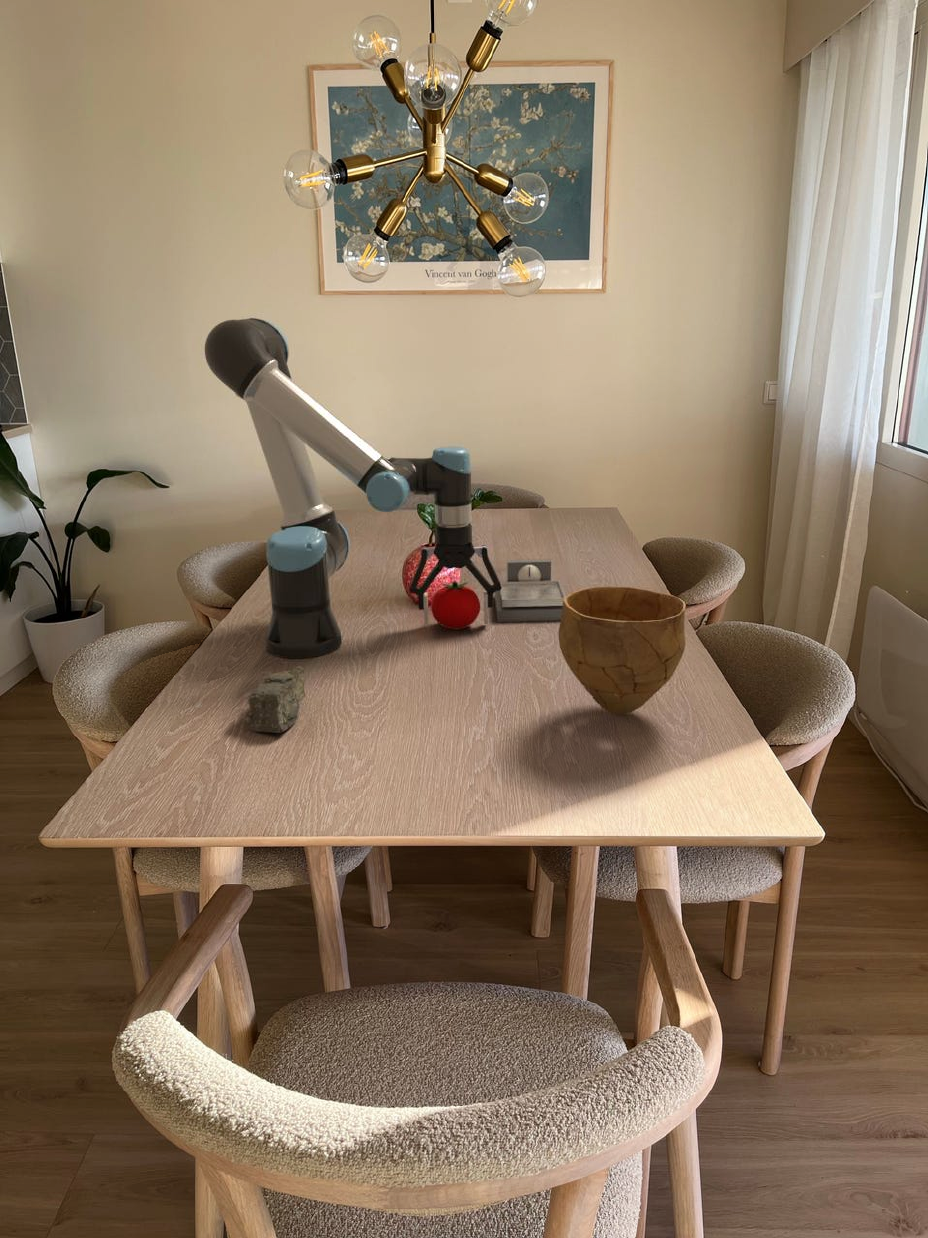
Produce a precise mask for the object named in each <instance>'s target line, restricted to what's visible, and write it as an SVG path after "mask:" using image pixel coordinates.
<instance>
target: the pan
mask: <svg viewBox="0 0 928 1238" xmlns="http://www.w3.org/2000/svg"><path fill="white" fill-rule="evenodd" d="M500 583H501V587H502V589H501V590H500V597H501V603H502V607H526V606H563V598H565V596H566V595H567V593H566V591H565V592H564V590H565V588H564V586H563V587H562V585H563V584H562V581H561V580H560V579H556V580H555V579H554V580H553V579H551V580H547V581H507V580H506V581H500ZM563 588H564V589H563ZM565 593H566V594H565Z"/></svg>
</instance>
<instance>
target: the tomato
mask: <svg viewBox="0 0 928 1238" xmlns="http://www.w3.org/2000/svg"><path fill="white" fill-rule="evenodd" d="M468 583H469V581H467V582H464V583H461V584H458V582H457V581H456V580H455V579H454V580H452V582H451V584H446V583H441V582H440V585H442V586H444V587H441V588H439V589H438V590H437V591H436V592H435V594H434V595H433V596H432V600H431V603H430V604H431V605H430V608H431V613H432V616H433V618H434V620H435V621H436V622H437V623H439V624H440V625H442V627H444V628H448V629H452V630H459V629H464V628H467V627H469V626H470V625H472V624H473V623H474V622H475V621H476V620H477V618H478V616H479V615H480V611H481V601H480V599H479V596H478V595H477V593H476V591H475V590H473V588H469V587H467V586H465V585H467V584H468Z"/></svg>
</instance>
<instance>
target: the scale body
mask: <svg viewBox="0 0 928 1238" xmlns="http://www.w3.org/2000/svg"><path fill="white" fill-rule="evenodd" d="M547 580H552V561H551V558H533V559H531V558H529V559H527V558H526V559H506V581H547ZM562 587H563V589H564V592H565V594H566V595H567V592H566V591H565V588H564V585H563V584H562ZM493 600H494V605H495V612H496V618H497V622H498V623H499V622H500V623H501V622H503V623H505V622H538V621H539V622H542V621H544V622H545V621H561V618H562V609H563V606H526V607H502V603H501V597H500V591H496V592H494V593H493Z"/></svg>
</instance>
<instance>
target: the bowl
mask: <svg viewBox="0 0 928 1238" xmlns="http://www.w3.org/2000/svg"><path fill="white" fill-rule="evenodd" d="M686 607H687V605H686V602H685V601H684V600H683V599H681V598H679V597H678V596H675V595H672V594H668V593H663V592H657V591H653V590H648V589H644V588H636V587H631V586H593V587H587V588H581V589H577V590H575V591H573V592H570V593H568V594H567V593H566V596H565V598H563V609H562V618H561V620H560V623H559V627H558V634H557V635H558V643H559V644H558V645H559V649H560V650H561V651H560V652H561V653H562V657H563V659H564V660H565V662H566V664H567V666H568V667H569V669H570V671H571V673H572V674H573V675H574V676H575V678H576V679H577V680H578V681H579V682H580V684H581V685H582V686H583V687H584V689H585V690H586V691H587V693H588V694H589V695H590V696H592V699H593V700H594V701H595V702H596V703H597V704H598V705H599V706H600V708H602V709H604V710H606V711H607V712H608V713H610V714H612V715H613V716H614V715H615V716H621V717H622V716H627V715H629V714H631V713H633V712H635V711H636V710H638V709H640V708H641V707H642V706H645V705H646V703H647V702H648V701H649V700H650V699H651V698H652V697H653V696H654V695H655V694H656V693H657V692H659V691H660V690H661V688H662V687H663V686H665V685H666V684H667V683H668V682H669V681H670V680H671V679H672V677H673V675H674V673H675V672H676V670H677V667H678V666H679V663H680V661H681V659H682V658H683V655H684V652H685V647H686V632H685V618H686Z"/></svg>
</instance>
